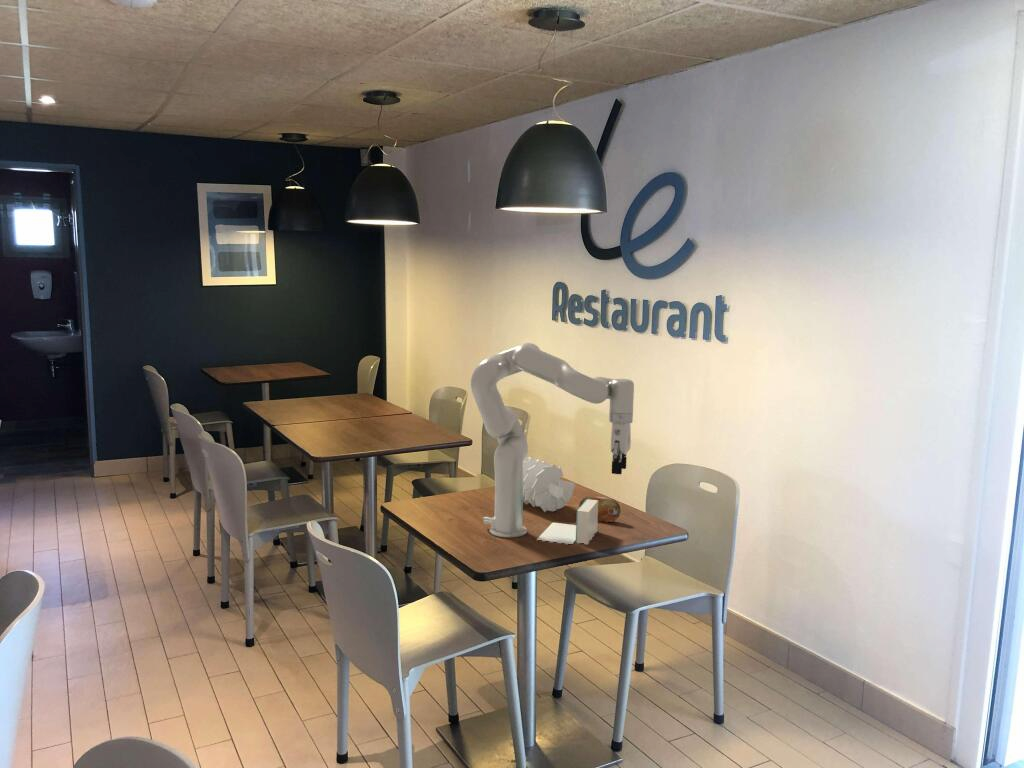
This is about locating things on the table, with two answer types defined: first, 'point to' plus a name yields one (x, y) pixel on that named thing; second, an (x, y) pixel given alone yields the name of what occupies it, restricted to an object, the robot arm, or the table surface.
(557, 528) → the mat
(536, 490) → the spiral staircase
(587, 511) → the tile
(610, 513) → the tin
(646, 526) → the table surface
